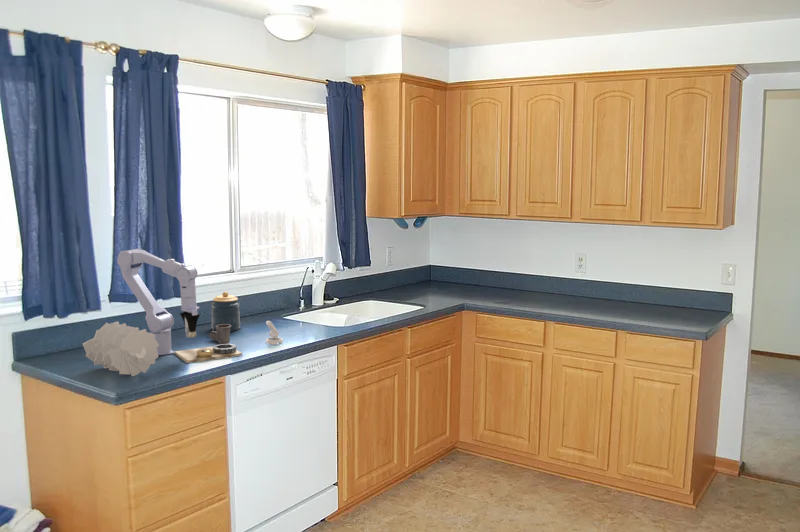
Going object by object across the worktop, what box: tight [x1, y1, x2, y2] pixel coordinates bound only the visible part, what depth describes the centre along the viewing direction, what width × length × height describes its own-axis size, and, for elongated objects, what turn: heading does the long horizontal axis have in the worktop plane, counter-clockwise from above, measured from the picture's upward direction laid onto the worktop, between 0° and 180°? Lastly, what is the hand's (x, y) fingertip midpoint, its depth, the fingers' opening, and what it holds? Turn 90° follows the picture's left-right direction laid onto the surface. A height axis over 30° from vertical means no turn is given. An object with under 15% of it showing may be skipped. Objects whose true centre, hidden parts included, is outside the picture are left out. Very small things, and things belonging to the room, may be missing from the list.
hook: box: [265, 320, 284, 345], centre depth 298 cm, size 8×12×7 cm
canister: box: [210, 291, 241, 332], centre depth 322 cm, size 13×13×18 cm
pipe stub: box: [184, 318, 197, 338], centre depth 275 cm, size 4×4×8 cm
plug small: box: [196, 349, 212, 358], centre depth 272 cm, size 6×6×2 cm
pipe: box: [208, 324, 231, 344], centre depth 297 cm, size 6×13×8 cm, turn 50°
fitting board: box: [174, 346, 243, 364], centre depth 278 cm, size 22×16×1 cm
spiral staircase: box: [82, 321, 159, 377], centre depth 252 cm, size 18×18×25 cm
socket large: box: [212, 343, 237, 354], centre depth 279 cm, size 9×9×2 cm
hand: (190, 330), depth 275 cm, fingers closed on pipe stub, 4 cm apart
